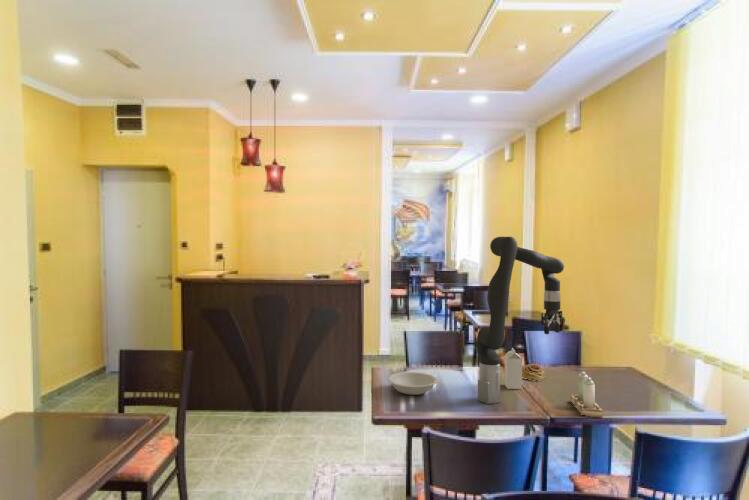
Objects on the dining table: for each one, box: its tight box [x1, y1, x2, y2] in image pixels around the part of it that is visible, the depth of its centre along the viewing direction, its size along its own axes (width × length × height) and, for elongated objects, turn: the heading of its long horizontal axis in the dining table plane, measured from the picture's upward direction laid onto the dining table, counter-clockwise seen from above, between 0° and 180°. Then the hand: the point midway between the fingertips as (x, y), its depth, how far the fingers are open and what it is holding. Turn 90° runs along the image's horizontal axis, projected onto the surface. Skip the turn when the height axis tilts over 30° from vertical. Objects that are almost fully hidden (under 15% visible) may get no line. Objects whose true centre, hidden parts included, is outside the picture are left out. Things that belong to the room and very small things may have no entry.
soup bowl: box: [387, 371, 439, 396], centre depth 215 cm, size 24×24×7 cm
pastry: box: [522, 363, 546, 381], centre depth 241 cm, size 13×15×8 cm
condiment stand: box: [569, 394, 604, 418], centre depth 194 cm, size 18×8×3 cm, turn 171°
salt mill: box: [583, 376, 596, 409], centre depth 190 cm, size 4×4×13 cm
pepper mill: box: [577, 371, 589, 401], centre depth 198 cm, size 4×4×13 cm
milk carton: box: [504, 347, 523, 390], centre depth 224 cm, size 7×7×19 cm
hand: (551, 333), depth 219 cm, fingers open, 8 cm apart
